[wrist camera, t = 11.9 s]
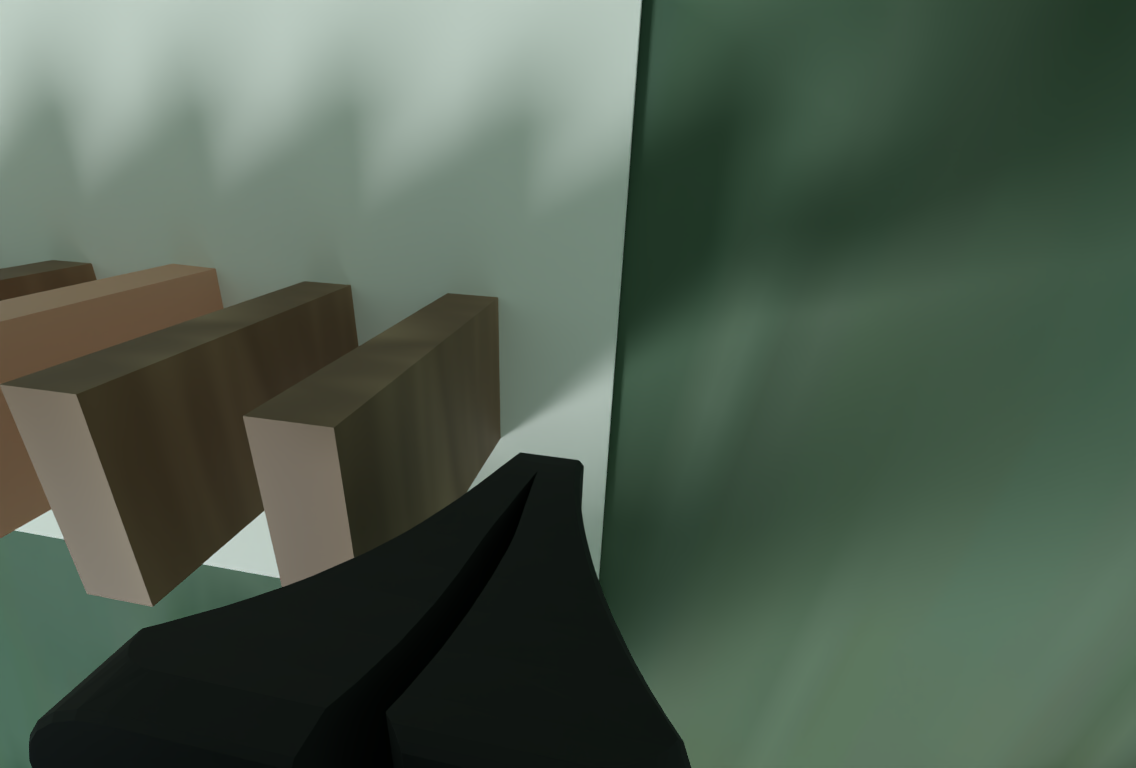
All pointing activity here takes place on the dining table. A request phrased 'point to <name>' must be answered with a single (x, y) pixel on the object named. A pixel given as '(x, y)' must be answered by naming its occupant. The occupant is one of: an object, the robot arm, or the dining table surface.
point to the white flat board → (345, 175)
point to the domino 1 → (83, 349)
